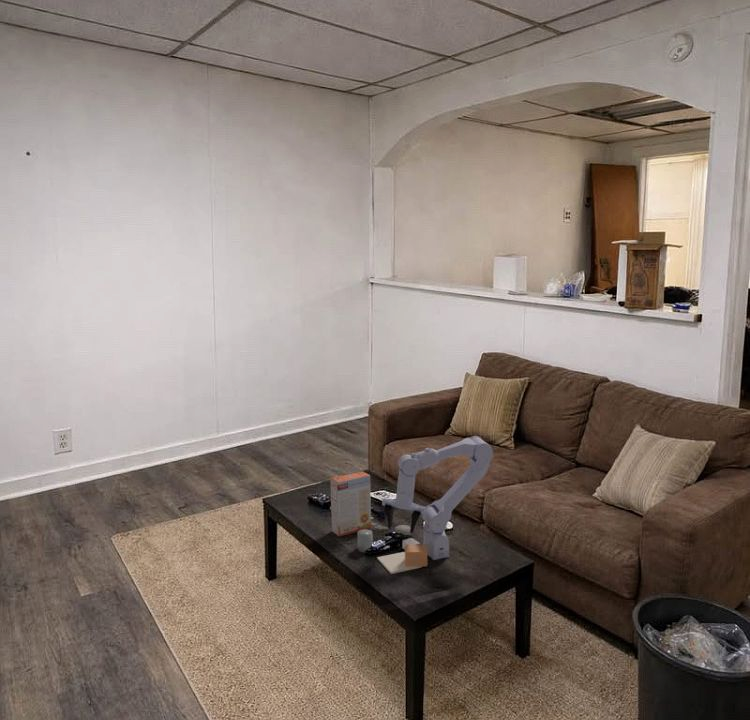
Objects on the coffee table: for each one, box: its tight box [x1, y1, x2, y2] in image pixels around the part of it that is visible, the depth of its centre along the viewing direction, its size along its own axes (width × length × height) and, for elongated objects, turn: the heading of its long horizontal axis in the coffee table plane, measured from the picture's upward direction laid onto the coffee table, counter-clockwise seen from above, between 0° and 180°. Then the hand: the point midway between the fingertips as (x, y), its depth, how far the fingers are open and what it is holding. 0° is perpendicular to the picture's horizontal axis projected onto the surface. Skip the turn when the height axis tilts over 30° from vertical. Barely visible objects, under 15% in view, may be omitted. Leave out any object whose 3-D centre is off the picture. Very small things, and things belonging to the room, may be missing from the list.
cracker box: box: [330, 471, 372, 538], centre depth 230 cm, size 14×6×21 cm, turn 122°
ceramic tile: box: [376, 551, 423, 575], centre depth 207 cm, size 11×11×1 cm
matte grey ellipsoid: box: [394, 524, 412, 536], centre depth 228 cm, size 6×6×2 cm
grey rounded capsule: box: [356, 529, 373, 553], centre depth 217 cm, size 5×5×6 cm
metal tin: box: [401, 537, 421, 551], centre depth 216 cm, size 5×4×3 cm
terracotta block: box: [404, 544, 428, 567], centre depth 205 cm, size 5×5×7 cm
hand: (400, 529), depth 211 cm, fingers open, 7 cm apart
